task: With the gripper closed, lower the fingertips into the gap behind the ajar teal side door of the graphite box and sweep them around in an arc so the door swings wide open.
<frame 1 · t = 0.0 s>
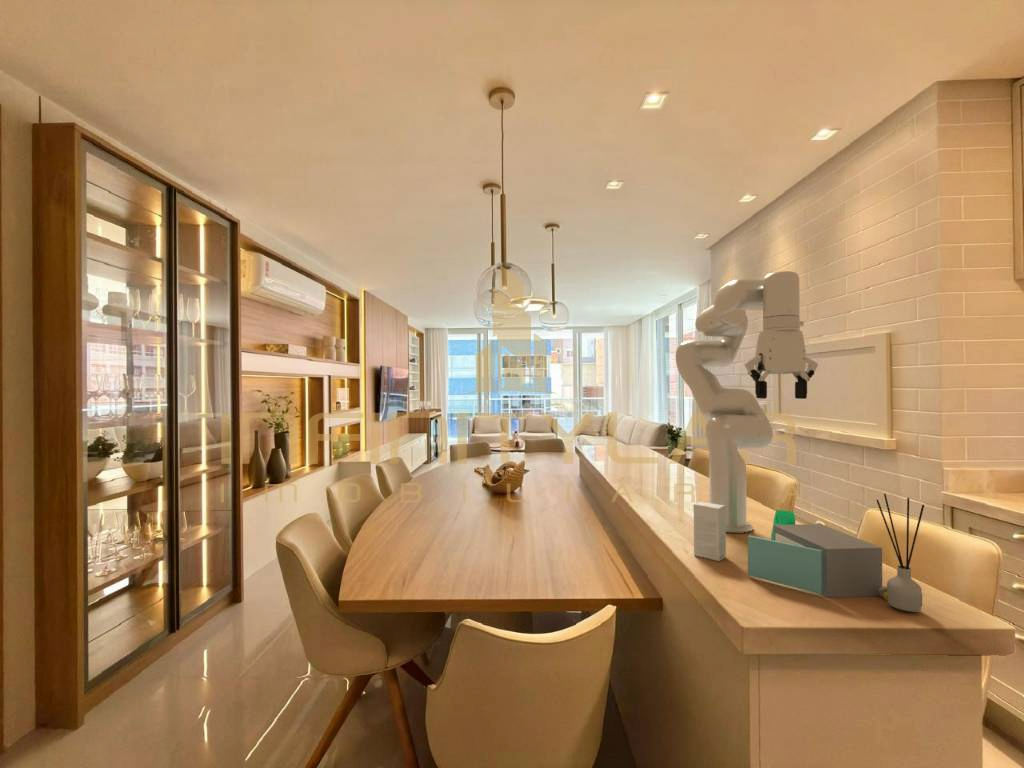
hand: (781, 398, 112), 37 cm above the countertop, tool pointing down, fingers open, 9 cm apart
camera mount: (795, 556, 113), on the countertop
side door: (783, 563, 94), point 5 cm above the countertop, hinge at 40.0°
reed diffuser: (896, 609, 85), on the countertop
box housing: (823, 579, 98), on the countertop
skincare box: (709, 557, 111), on the countertop
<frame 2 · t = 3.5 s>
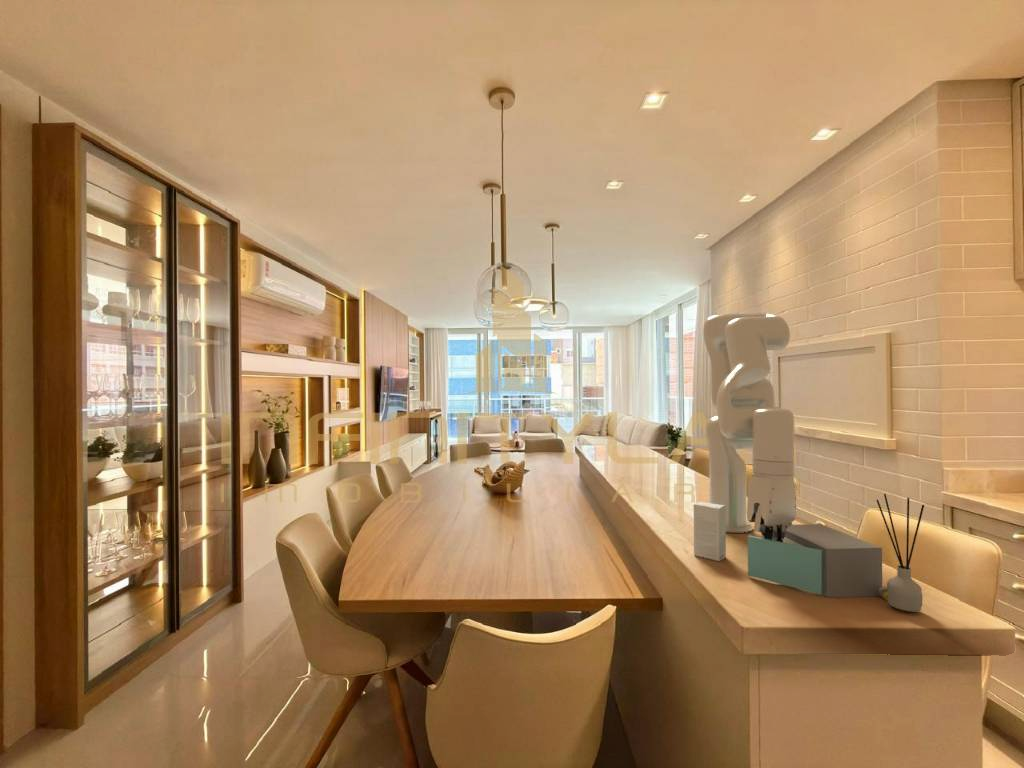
hand: (773, 557, 98), 4 cm above the countertop, tool pointing down, fingers closed
side door: (783, 563, 94), point 5 cm above the countertop, hinge at 40.2°, touching gripper
everything else where it was.
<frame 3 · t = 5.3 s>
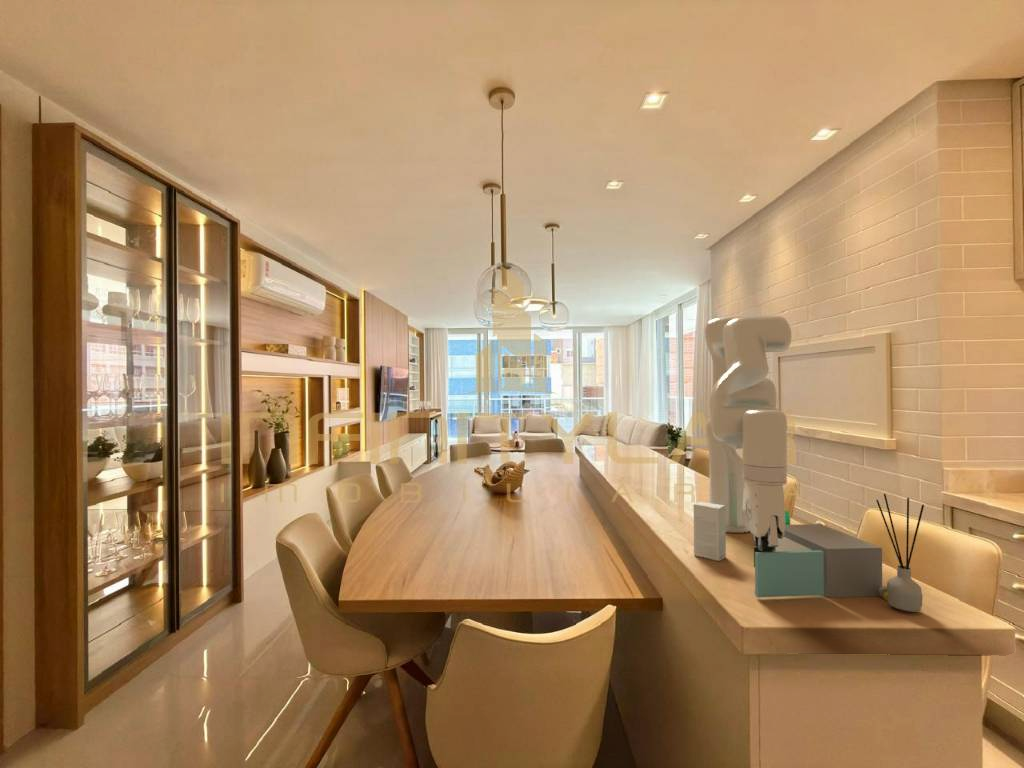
hand: (764, 569, 92), 4 cm above the countertop, tool pointing down, fingers closed
side door: (789, 573, 89), point 5 cm above the countertop, hinge at 91.2°, touching gripper
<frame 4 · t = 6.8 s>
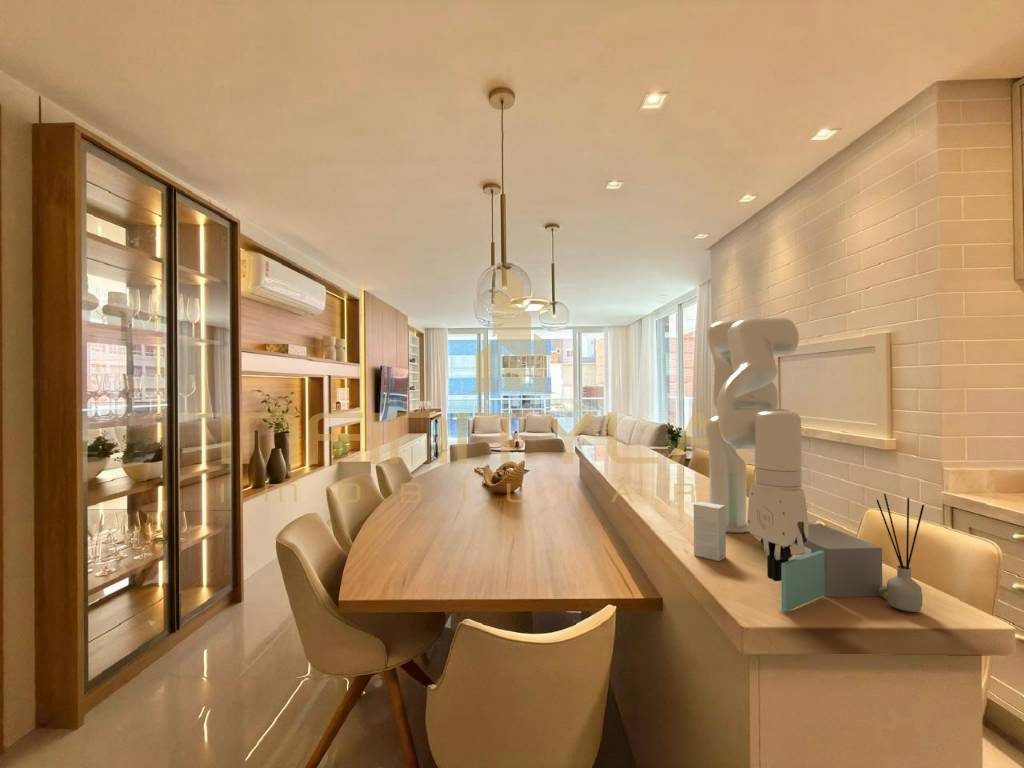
hand: (778, 578, 88), 4 cm above the countertop, tool pointing down, fingers closed
side door: (803, 579, 86), point 5 cm above the countertop, hinge at 117.2°
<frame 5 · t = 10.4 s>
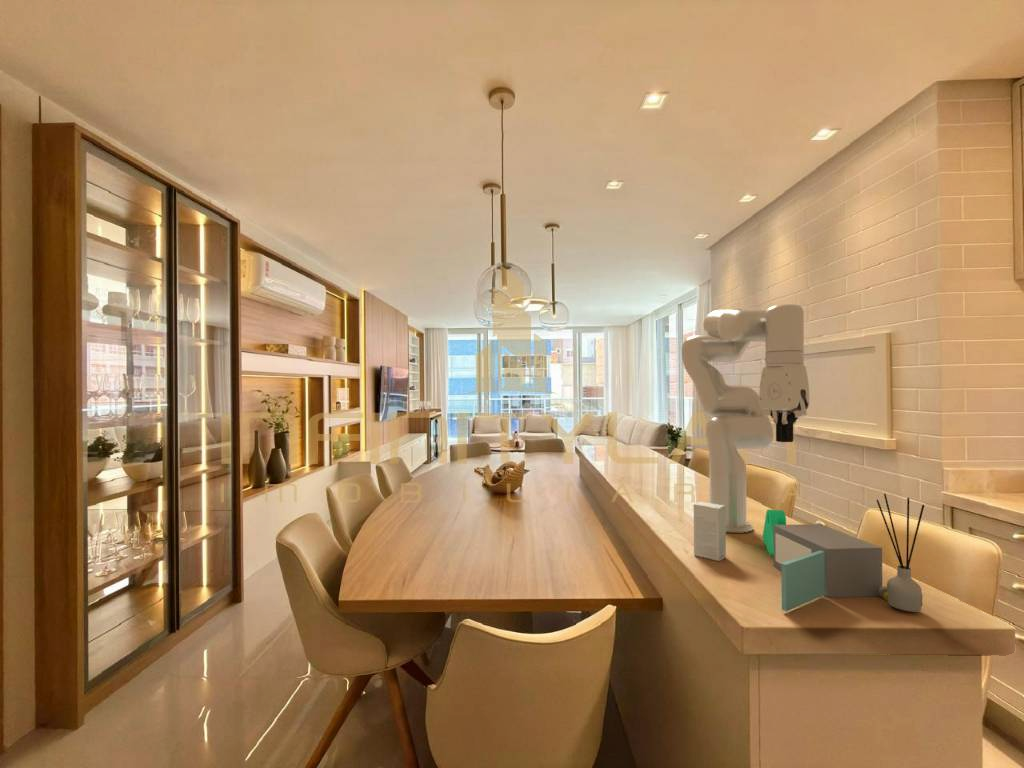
hand: (784, 441, 108), 27 cm above the countertop, tool pointing down, fingers closed
at the end: side door at +117° (first picture: +40°); reed diffuser moved 0.2 cm from its start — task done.
